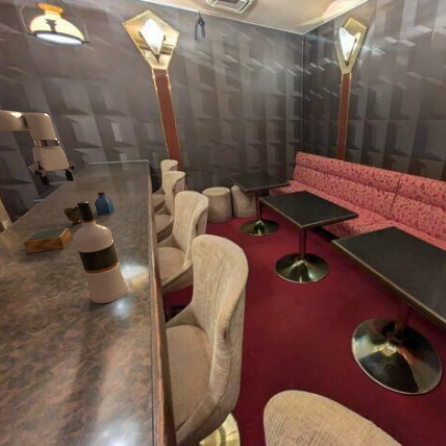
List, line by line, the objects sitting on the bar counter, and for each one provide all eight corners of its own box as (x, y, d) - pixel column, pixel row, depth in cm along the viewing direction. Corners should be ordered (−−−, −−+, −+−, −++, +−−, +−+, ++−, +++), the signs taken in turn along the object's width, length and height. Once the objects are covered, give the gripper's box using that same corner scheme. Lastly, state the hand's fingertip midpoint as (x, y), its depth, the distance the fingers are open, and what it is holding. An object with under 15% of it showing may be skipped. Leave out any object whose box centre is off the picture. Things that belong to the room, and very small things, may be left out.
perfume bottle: (97, 214, 141) (91, 193, 137) (102, 210, 147) (97, 191, 142) (110, 213, 143) (105, 193, 139) (114, 210, 148) (109, 190, 144)
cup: (67, 226, 123) (62, 211, 120) (68, 222, 128) (63, 207, 125) (86, 223, 128) (82, 209, 125) (86, 219, 133) (82, 205, 130)
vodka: (83, 303, 72) (48, 206, 61) (108, 285, 81) (81, 196, 70) (113, 306, 72) (84, 208, 61) (135, 287, 80) (113, 198, 69)
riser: (28, 253, 98) (23, 241, 96) (39, 242, 107) (34, 231, 105) (64, 248, 103) (60, 236, 101) (71, 238, 112) (68, 227, 110)
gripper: (62, 142, 115) (73, 178, 121) (14, 144, 99) (29, 186, 105) (74, 143, 113) (85, 180, 119) (27, 145, 98) (42, 187, 104)
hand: (59, 182), depth 112 cm, fingers open, 9 cm apart
